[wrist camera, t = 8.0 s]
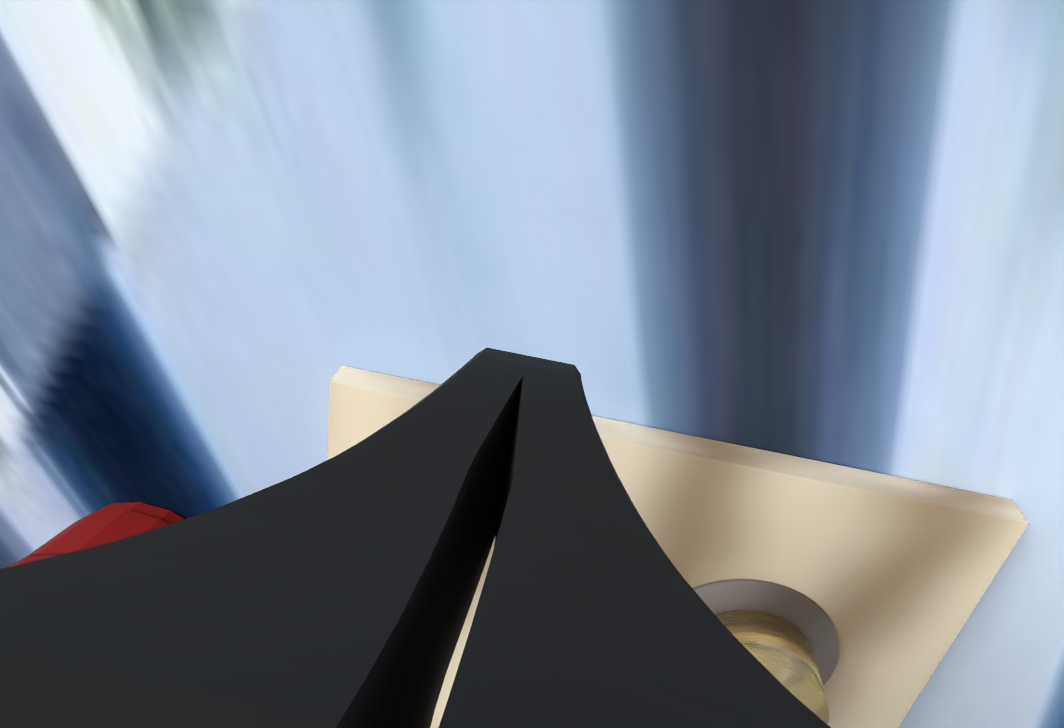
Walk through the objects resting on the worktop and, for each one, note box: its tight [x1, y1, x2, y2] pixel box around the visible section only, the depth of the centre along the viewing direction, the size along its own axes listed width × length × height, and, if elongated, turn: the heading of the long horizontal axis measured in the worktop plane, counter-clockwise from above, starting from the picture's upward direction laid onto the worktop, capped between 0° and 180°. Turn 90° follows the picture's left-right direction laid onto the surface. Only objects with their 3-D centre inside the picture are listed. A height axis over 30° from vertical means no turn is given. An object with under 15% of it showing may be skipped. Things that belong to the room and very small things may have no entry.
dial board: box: [328, 366, 1029, 728], centre depth 26 cm, size 20×21×1 cm
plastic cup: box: [6, 502, 184, 568], centre depth 22 cm, size 11×11×12 cm
